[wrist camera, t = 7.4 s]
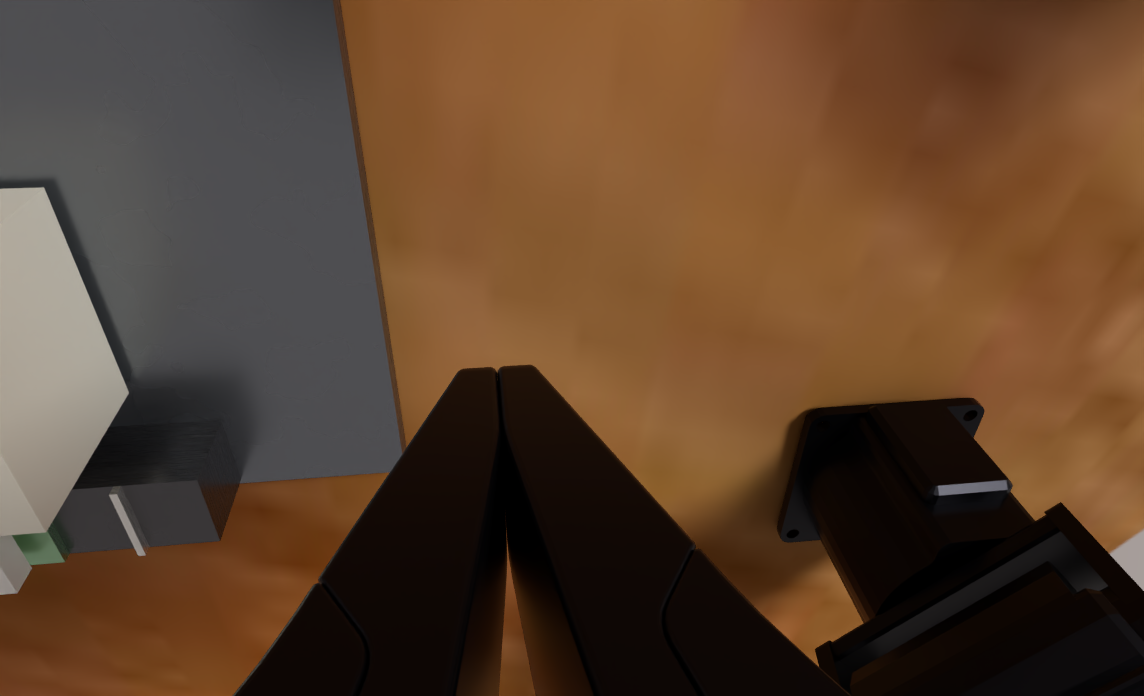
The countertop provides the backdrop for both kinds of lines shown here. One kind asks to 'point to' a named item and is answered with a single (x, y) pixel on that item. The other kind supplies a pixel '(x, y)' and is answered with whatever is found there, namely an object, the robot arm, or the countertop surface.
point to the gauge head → (45, 375)
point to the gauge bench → (205, 250)
